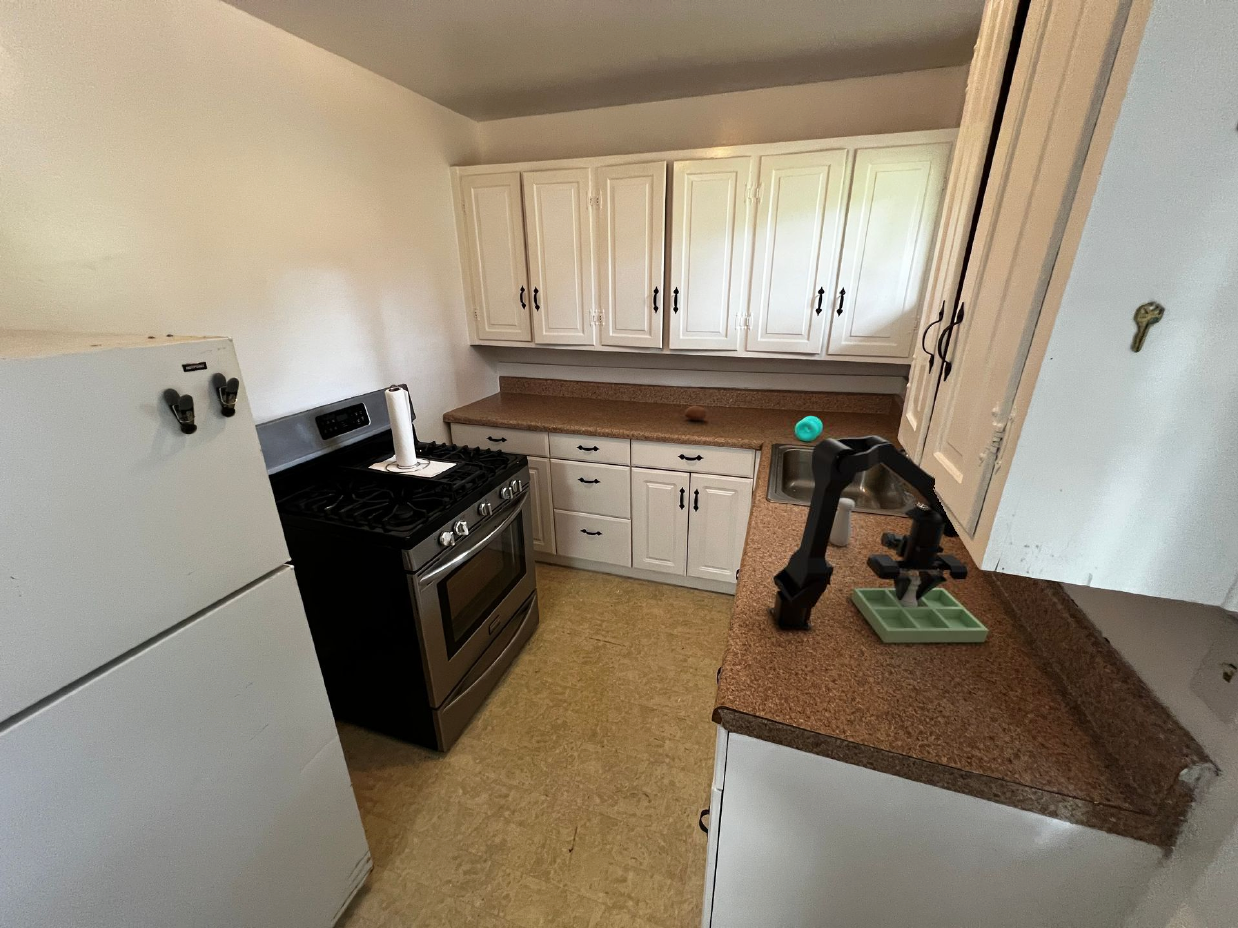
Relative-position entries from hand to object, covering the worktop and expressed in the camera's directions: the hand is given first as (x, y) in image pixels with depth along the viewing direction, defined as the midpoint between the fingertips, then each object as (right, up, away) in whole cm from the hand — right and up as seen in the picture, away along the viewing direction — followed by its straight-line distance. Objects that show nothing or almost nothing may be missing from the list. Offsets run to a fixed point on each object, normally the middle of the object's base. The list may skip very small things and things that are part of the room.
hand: (907, 599), depth 105 cm
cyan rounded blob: (+23, +41, +113) cm, 122 cm away
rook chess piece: (0, -2, +1) cm, 2 cm away
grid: (0, -4, -2) cm, 4 cm away
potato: (-24, +52, +139) cm, 151 cm away
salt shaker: (-3, +8, +28) cm, 29 cm away
